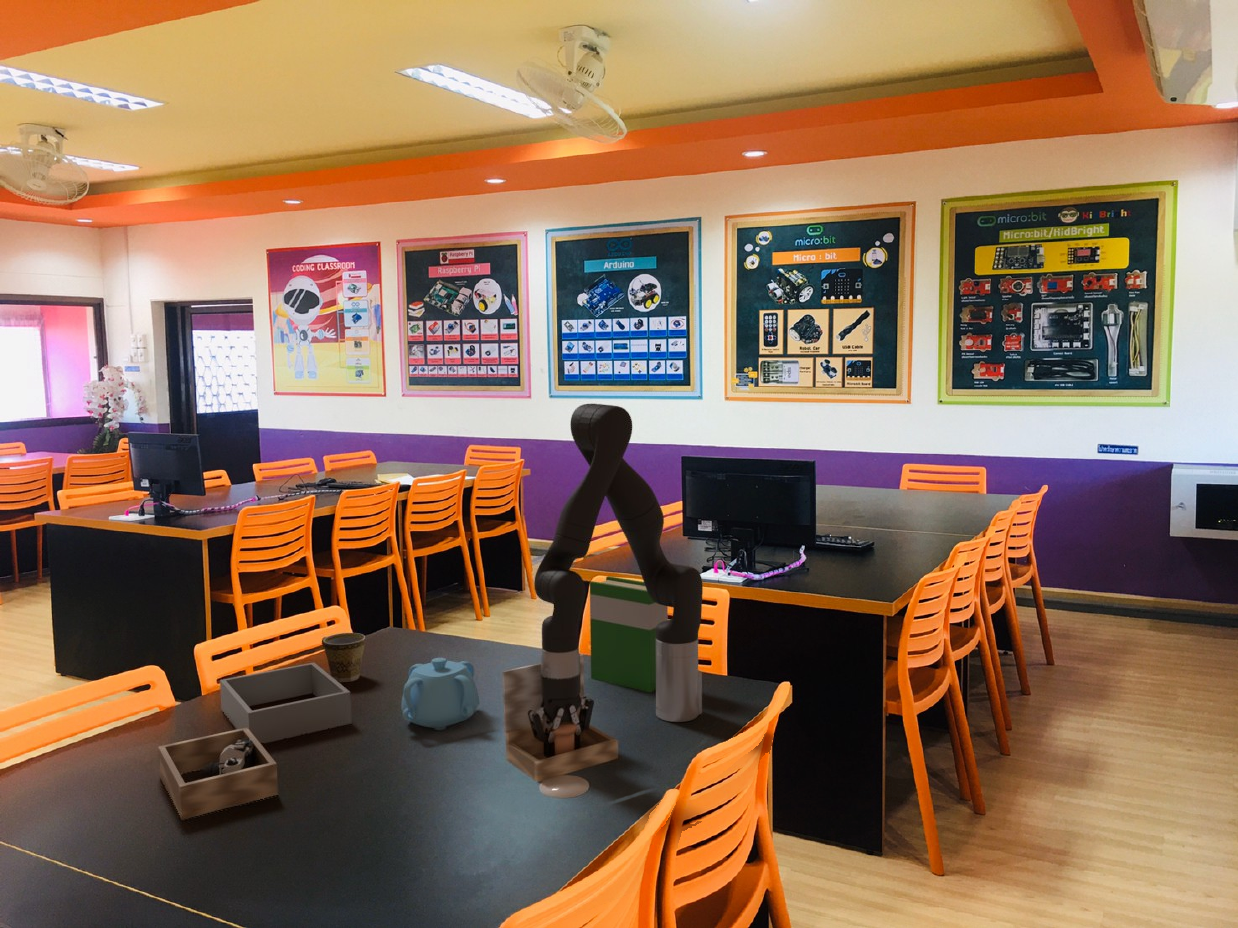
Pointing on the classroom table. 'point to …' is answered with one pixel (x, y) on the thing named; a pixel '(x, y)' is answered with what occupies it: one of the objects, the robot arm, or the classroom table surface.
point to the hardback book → (624, 633)
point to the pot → (564, 737)
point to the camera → (232, 759)
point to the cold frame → (520, 740)
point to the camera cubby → (217, 788)
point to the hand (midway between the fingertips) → (562, 755)
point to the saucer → (564, 786)
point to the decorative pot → (440, 693)
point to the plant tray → (289, 717)
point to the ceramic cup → (344, 655)
